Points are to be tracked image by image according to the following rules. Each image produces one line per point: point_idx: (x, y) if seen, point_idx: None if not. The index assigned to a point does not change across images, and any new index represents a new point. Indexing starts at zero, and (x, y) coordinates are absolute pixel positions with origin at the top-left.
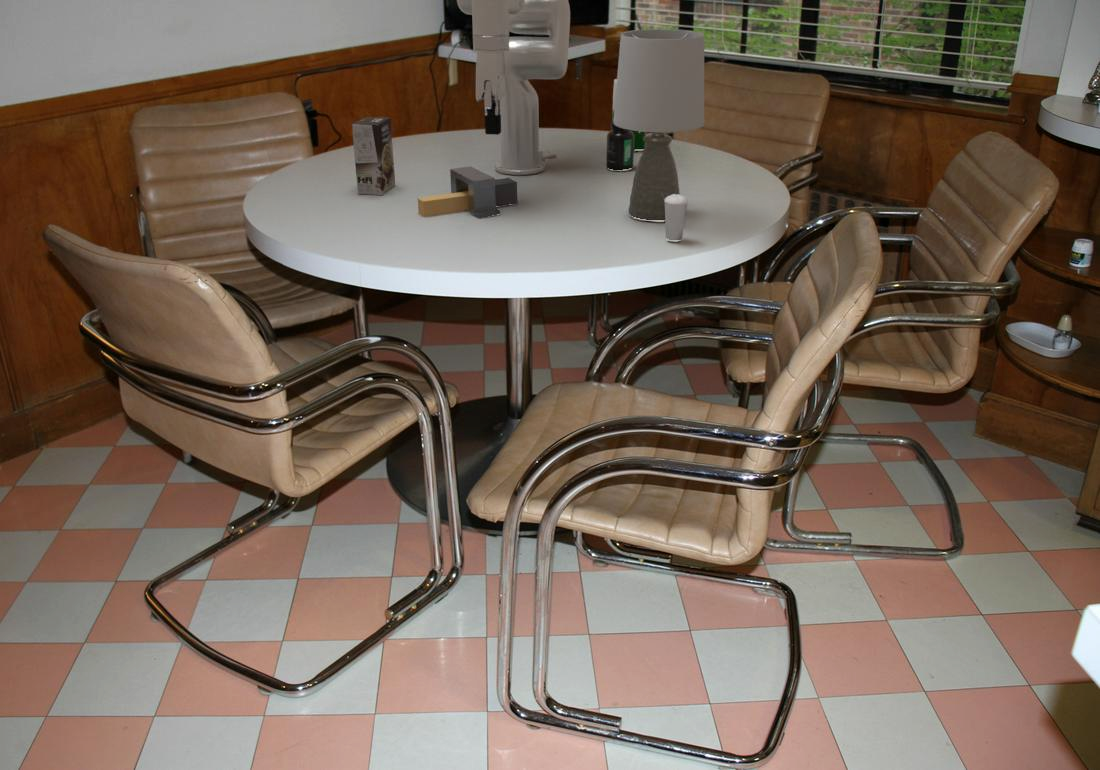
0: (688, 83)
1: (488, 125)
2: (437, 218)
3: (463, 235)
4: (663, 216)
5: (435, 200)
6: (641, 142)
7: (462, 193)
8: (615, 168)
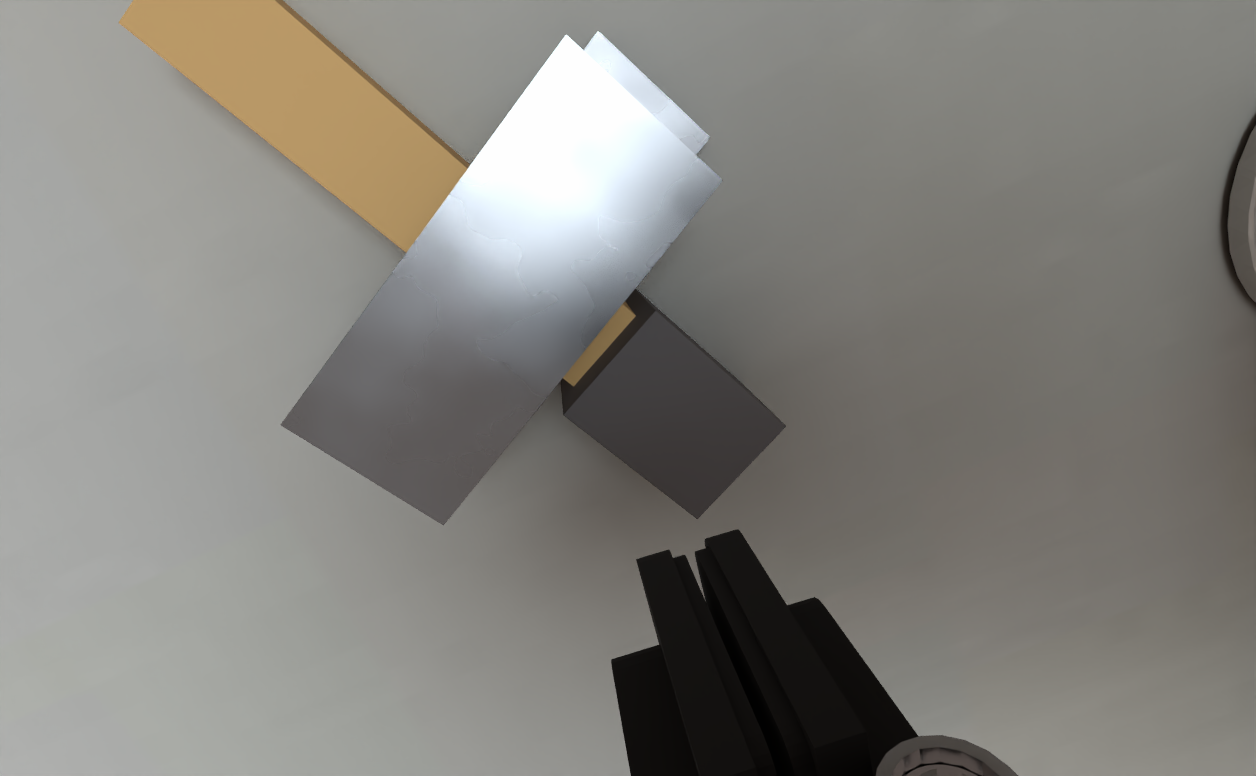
0: None
1: (622, 708)
2: (206, 157)
3: (3, 455)
4: None
5: (220, 101)
6: None
7: None
8: None
